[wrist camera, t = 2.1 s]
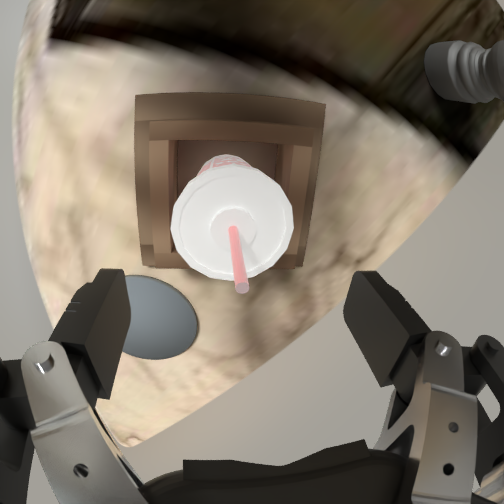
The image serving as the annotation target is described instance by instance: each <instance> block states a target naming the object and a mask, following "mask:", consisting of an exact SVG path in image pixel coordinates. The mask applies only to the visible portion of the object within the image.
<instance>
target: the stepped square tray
mask: <svg viewBox="0 0 504 504" xmlns="http://www.w3.org/2000/svg"><path fill="white" fill-rule="evenodd" d="M325 107H326V104H322V103H316V102H310V101H304V100H297V99H289V98H281V97H272V96H262V95H250V94H234V93H203V92H188V93H157V94H142V95H135V126H134V152H135V184H136V202H137V216H138V228H139V238H140V248H141V256H142V264H143V265H144V266H156V268H182V269H193V268H191V267H190V266H189V265H188V263H187V262H186V261H185V260H184V259H183V258H182V256H181V255H180V254H179V253H178V251H177V250H176V247H175V243H174V240H173V237H172V233H171V230H170V228H171V221H172V214H173V207H174V204H175V203H176V201H177V157H178V140H224V141H247V142H263V143H276V144H278V150H277V160H276V171H275V180H274V181H275V182H276V183H278V184H279V185H280V187H281V188H282V190H283V192H284V193H285V195H286V197H287V199H288V200H289V202H290V204H291V206H292V214H293V224H294V229H293V232H292V235H291V239H290V242H289V245H288V248H287V250H286V251H285V252H284V253H283V254H282V256H281V257H280V258H279V259H278V260H277V262H276V263H275V264H274V265H273V266H272V267H270V268H268V269H295V266H303V261H304V255H305V249H306V244H307V238H308V232H309V226H310V220H311V214H312V207H313V201H314V194H315V187H316V180H317V173H318V166H319V159H320V151H321V143H322V134H323V126H324V117H325Z"/></svg>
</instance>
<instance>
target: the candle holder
mask: <svg viewBox="0 0 504 504" xmlns="http://www.w3.org/2000/svg"><path fill="white" fill-rule="evenodd" d="M424 65H425V72H426V75H427V78H428V80H429V83H430V85H431V86H432V88H433V89H434V90H435V92H436V93H437V94H438V95H439V96H441V97H442V98H444V99H446V100H453V101H461V102H468V103H477V102H484V103H487V102H489V101H491V100H492V99H493V98H494V97H496V98H499V99H502V100H503V101H504V40H502V41H499V42H497V43H496V44H494V45H493V46H492V48H490V49H487V50H485V49H483V48H482V47H481V46H480V45H478V44H475V43H473V42H469V43H465V42H463V41H460V40H459V41H448V42H440V43H435V44H432V45H430V46H429V48H428V49H427V50H426V53H425V59H424Z"/></svg>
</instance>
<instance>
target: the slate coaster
mask: <svg viewBox="0 0 504 504" xmlns="http://www.w3.org/2000/svg"><path fill="white" fill-rule="evenodd" d="M125 280H126V285H127V291H128V296H129V301H130V306H131V322H130V326H129V329H128V333H127V336H126V339H125V343H124V346H123V350H122V351H123V352H125V353H127V354H129V355H132V356H135V357H138V358H143V359H151V360H159V359H166V358H171V357H174V356H176V355H179V354H180V353H182V352H184V351H185V350H186V349H187V348H188V347H189V346H190V345H191V344H192V342H193V341H194V338H195V336H196V331H197V319H196V315H195V311H194V309H193V307H192V305H191V304H190V302H189V301H188V300H187V298H186V297H185V296H184V295H183V294H182V293H181V292H179V291H178V290H177V289H176V288H174V287H173V286H171V285H169V284H167V283H166V282H163V281H161V280H159V279H156V278H152V277H148V276H142V275H127V276H125Z"/></svg>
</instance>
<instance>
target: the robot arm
mask: <svg viewBox="0 0 504 504" xmlns="http://www.w3.org/2000/svg"><path fill="white" fill-rule="evenodd" d="M343 314H344V320H345V322H346V324H347V326H348V328H349V329H350V331H351V333H352V335H353V337H354V339H355V340H356V342H357V344H358V346H359V348H360V349H361V351H362V353H363V355H364V357H365V359H366V360H367V362H368V364H369V366H370V368H371V370H372V372H373V374H374V376H375V378H376V380H377V381H378V383H379V385H380V387H384V386H388V385H392V384H394V386H395V389H394V391H393V393H392V395H391V399H390V403H389V407H388V410H387V414H386V418H385V422H384V425H383V428H382V432H381V435H380V437H379V439H378V441H377V443H376V444H375V446H374V448H373V449H368V447H367V445H366V442H365V440H364V439H363V440H359V441H355V442H351V443H347V444H344V445H339V446H334V447H330V448H326V449H323V450H321V451H319V452H316V453H314V454H312V455H309V456H307V457H305V458H302V459H300V460H298V461H295V462H292V463H290V464H287V465H284V466H272V465H263V464H255V463H248V462H241V461H235V460H183V470H179V471H174V472H170V473H167V474H164V475H161V476H159V477H157V478H154V479H152V480H150V481H149V482H147V483H145V484H144V483H143V481H142V480H141V479H140V477H139V476H138V475H137V473H136V472H135V470H133V468H132V466H131V465H130V464H129V462H128V461H127V460H126V458H125V457H124V455H123V454H122V452H121V451H120V449H119V448H118V446H117V445H116V443H115V441H114V440H113V438H112V437H111V435H110V433H109V431H108V430H107V428H106V426H105V424H104V423H103V421H102V419H101V417H100V415H99V414H98V412H97V410H96V408H95V406H96V402H97V398H102V399H109V400H110V396H111V391H112V387H113V383H114V379H115V375H116V372H117V368H118V364H119V360H120V357H121V353H122V350H123V346H124V343H125V339H126V336H127V333H128V329H129V326H130V322H131V306H130V301H129V296H128V291H127V285H126V280H125V274H124V271H123V270H122V269H103V268H102V269H100V270H99V272H98V274H97V275H96V277H95V279H94V280H93V282H92V283H86V284H85V285H84V286H82V287H81V288H80V289H78V290H77V291H76V293H75V295H74V296H73V298H72V299H71V303H69V304H68V306H67V308H66V312H65V311H64V313H63V315H62V316H61V318H60V320H59V322H58V324H57V325H56V327H55V329H54V331H53V333H52V335H51V337H50V338H49V340H48V341H43V342H40V343H37V344H35V345H33V346H32V347H30V348H29V349H28V350H27V351H26V352H25V354H24V355H23V357H22V359H18V360H8V361H2V359H1V358H0V504H26V500H27V491H28V483H29V476H30V470H31V464H32V459H33V454H34V448H35V449H36V452H37V455H38V457H39V460H40V462H41V465H42V467H43V470H44V472H45V474H46V477H47V479H48V481H49V483H50V486H51V488H52V490H53V492H54V494H55V496H56V498H57V500H58V502H59V504H504V347H503V346H502V345H501V344H500V342H499V341H497V340H496V339H495V338H493V337H491V336H488V335H481V336H479V337H478V339H477V340H476V342H475V344H474V345H473V347H462V346H460V344H459V342H458V341H457V340H456V339H455V338H454V337H453V336H451V335H449V334H447V333H445V332H442V331H431V330H430V328H429V327H428V326H427V325H426V324H425V322H424V321H423V320H422V319H421V317H420V316H419V315H418V314H417V313H416V311H415V310H414V309H413V308H411V305H410V304H409V303H408V302H407V301H405V298H404V297H403V296H402V295H401V294H400V293H399V291H398V290H396V289H394V288H393V287H392V286H390V285H389V284H387V283H386V282H385V280H384V279H383V278H382V277H381V276H380V275H379V273H377V271H356V272H355V273H354V275H353V277H352V281H351V284H350V288H349V291H348V294H347V298H346V301H345V305H344V310H343ZM486 384H488V386H489V387H490V389H491V391H492V392H493V394H494V395H495V397H496V399H497V400H498V402H499V404H500V413H499V415H498V417H497V418H496V419H495V420H494V421H493V422H491V421H490V419H489V417H488V415H487V413H486V412H485V410H484V408H483V406H482V405H481V403H480V401H479V400H478V398H477V395H478V394H479V393H480V391H481V390H482V389H483V388H484V387H485V385H486ZM474 473H475V476H476V478H477V480H478V483H479V485H480V488H479V489H477V490H476V491H475V492H474V493H473V492H472V488H473V481H474Z"/></svg>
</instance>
